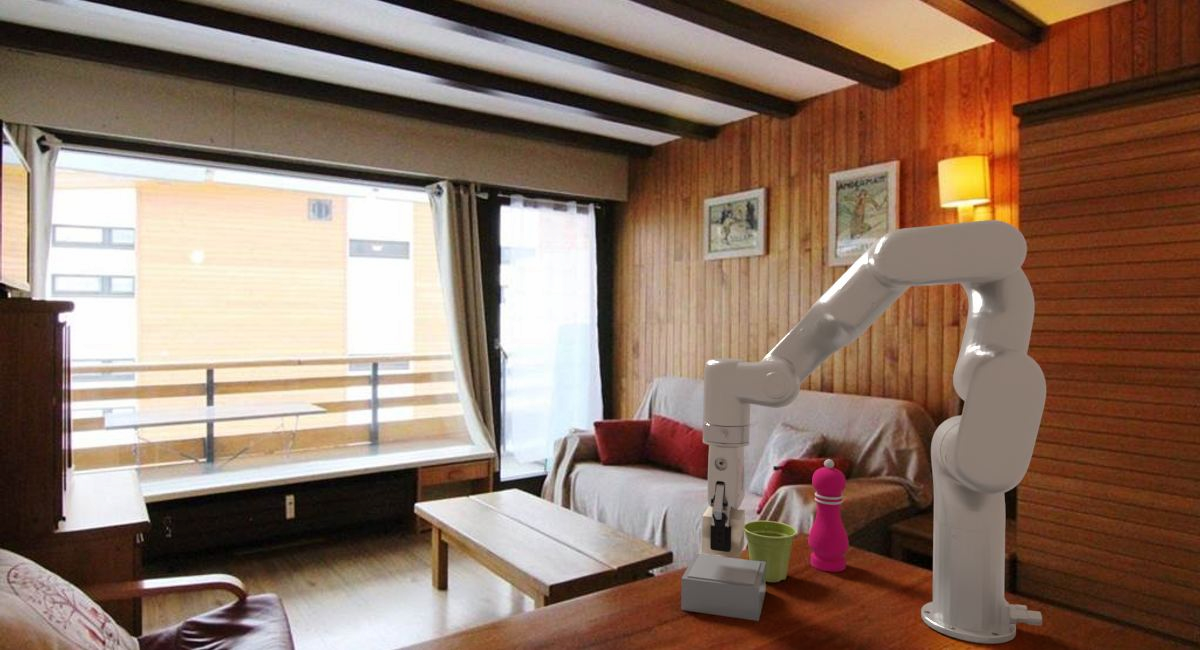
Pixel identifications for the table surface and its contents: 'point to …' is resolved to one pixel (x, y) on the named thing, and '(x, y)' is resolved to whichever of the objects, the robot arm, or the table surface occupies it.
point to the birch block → (736, 533)
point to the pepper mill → (828, 520)
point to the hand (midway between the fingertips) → (723, 542)
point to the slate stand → (724, 586)
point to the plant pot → (770, 546)
